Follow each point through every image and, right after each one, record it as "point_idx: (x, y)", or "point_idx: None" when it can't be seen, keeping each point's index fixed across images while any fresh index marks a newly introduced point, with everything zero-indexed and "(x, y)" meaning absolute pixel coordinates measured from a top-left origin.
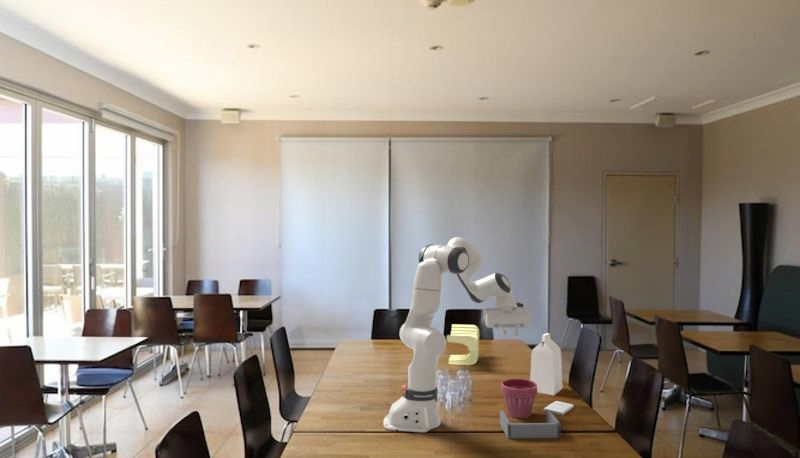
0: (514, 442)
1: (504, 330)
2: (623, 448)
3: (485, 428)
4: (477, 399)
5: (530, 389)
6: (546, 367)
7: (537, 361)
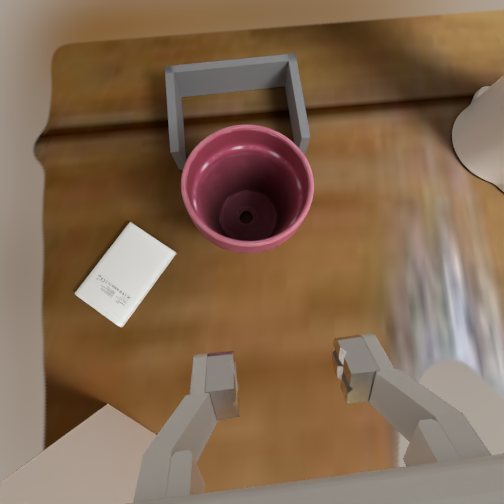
0: None
1: (368, 365)
2: (58, 55)
3: (340, 125)
4: None
5: (214, 133)
6: (72, 471)
7: None
